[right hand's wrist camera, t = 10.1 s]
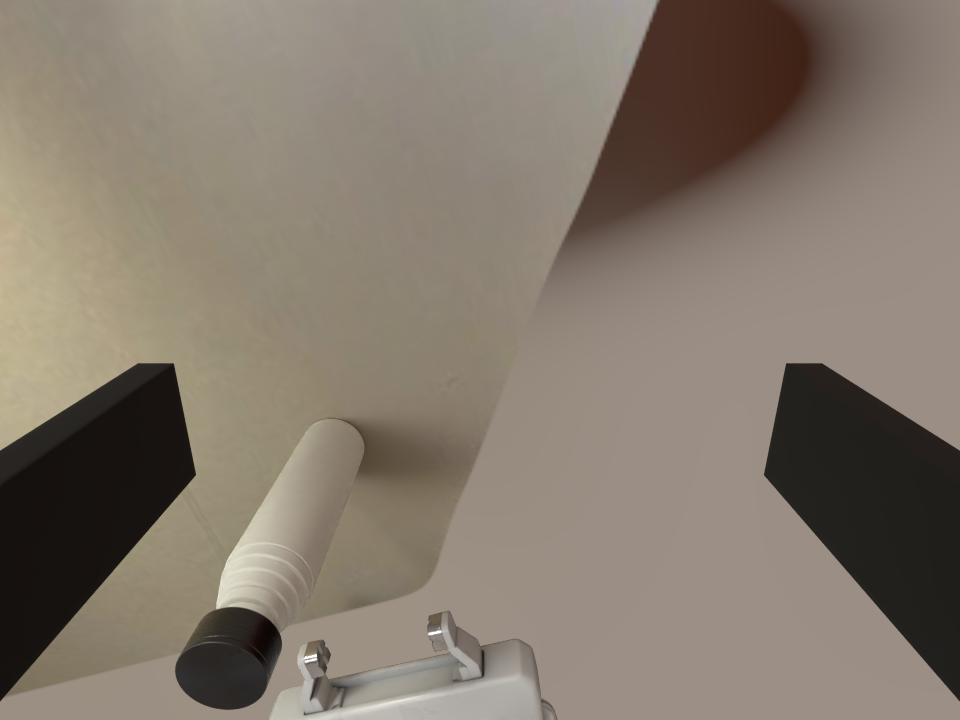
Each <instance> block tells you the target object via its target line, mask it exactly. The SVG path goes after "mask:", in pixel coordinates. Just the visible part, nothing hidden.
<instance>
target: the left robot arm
mask: <svg viewBox="0 0 960 720" xmlns="http://www.w3.org/2000/svg"><path fill="white" fill-rule="evenodd" d="M428 620H429V624H428V635H429V638H430V640H431V641H432V646H433V648H434V650H435V651H440V650H445V649H446V650H447V651H448V652H450V653H448V654H443V655H439V656H434V657H430V658H425V659H420V660H416V661H411V662H406V663H402V664H397V665H393V666H388V667H384V668H379V669H374V670H370V671H366V672H361V673H356V674H352V675H347V676H342V677H338V678H333V679H329V680H328V678H327V676H326V674H325V673H326V670H327V666H326V665H327V663H328V662H329V659H330V656H331V654H330V652H329V650H328V648H327V647H325V642H324V640H318V641H313V642H309V643H304V644H302V645H301V648H300V651H299V654H298V657H297V663H298V667H299V669H300V671H301V673H302V674H303V676H304V682H303V685H301V686H296V687H291V688H287V689H284V690H282V691H281V692H280V694H279V696H278V697H277V699H276V701H275V704H274V706H273V708H272V711H271V713H270V716H269V719H268V720H557V717H556V714H555V711H554V709H553V707H552V706H551V704H550V703H549V702H547V701H546V700H544V699H541V692H540V685H539V677H538V671H537V666H536V661H535V657H534V653H533V650H532V648H531V646H529V645H528V644H526V643H525V642H523V641H521V640H519V639H512V640H507V641H503V642H498V643H494V644H489V645H485V646H480V645H479V642H478V640H477V639H476V638H474V637H473V636H471V635H470V634H468V633H467V632H465V631H464V630H462V629H461V628H459V627H456V625H455V623H454V620H453V618H452V615H451V612H450V611H446V612H442V613H438V614H434V615H430V616H429V619H428Z"/></svg>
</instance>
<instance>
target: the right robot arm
mask: <svg viewBox="0 0 960 720" xmlns="http://www.w3.org/2000/svg"><path fill="white" fill-rule="evenodd" d="M195 476H196V472H195V467H194V462H193V457H192V452H191V447H190V442H189V437H188V432H187V427H186V422H185V417H184V412H183V407H182V402H181V397H180V392H179V387H178V382H177V377H176V372H175V367H174V363H138V364H136V365H135V366H133V367H132V368H130V369H128V370H127V371H125V372H124V373H122V374H121V375H119V376H117V377H116V378H114V379H113V380H111V381H110V382H108V383H106V384H105V385H103V386H102V387H100V388H98V389H97V390H95V391H94V392H92V393H91V394H89V395H87V396H86V397H84V398H83V399H81V400H80V401H78V402H76V403H75V404H73V405H72V406H70V407H68V408H67V409H65V410H64V411H62V412H61V413H59V414H57V415H56V416H54V417H53V418H51V419H50V420H48V421H46V422H45V423H43V424H42V425H40V426H38V427H37V428H35V429H34V430H32V431H31V432H29V433H27V434H26V435H24V436H23V437H21V438H20V439H18V440H16V441H15V442H13V443H12V444H10V445H8V446H7V447H5V448H4V449H2V450H1V451H0V701H1V700H2V699H3V697H4V696H5V695H6V694H7V693H8V692H9V691H10V689H11V688H12V687H13V686H14V685H15V684H16V682H17V681H18V680H19V679H20V678H21V677H22V676H23V674H24V673H25V672H26V671H27V670H28V669H29V667H30V666H31V665H32V664H33V663H34V662H35V661H36V659H37V658H38V657H39V656H40V655H41V654H42V652H43V651H44V650H45V649H46V648H47V647H48V645H49V644H50V643H51V642H52V641H53V640H54V639H55V637H56V636H57V635H58V634H59V633H60V632H61V630H62V629H63V628H64V627H65V626H66V625H67V624H68V622H69V621H70V620H71V619H72V618H73V617H74V615H75V614H76V613H77V612H78V611H79V610H80V609H81V607H82V606H83V605H84V604H85V603H86V602H87V600H88V599H89V598H90V597H91V596H92V595H93V593H94V592H95V591H96V590H97V589H98V588H99V587H100V585H101V584H102V583H103V582H104V581H105V580H106V578H107V577H108V576H109V575H110V574H111V573H112V572H113V570H114V569H115V568H116V567H117V566H118V565H119V563H120V562H121V561H122V560H123V559H124V558H125V557H126V555H127V554H128V553H129V552H130V551H131V550H132V548H133V547H134V546H135V545H136V544H137V543H138V541H139V540H140V539H141V538H142V537H143V536H144V535H145V533H146V532H147V531H148V530H149V529H150V528H151V526H152V525H153V524H154V523H155V522H156V521H157V520H158V518H159V517H160V516H161V515H162V514H163V513H164V511H165V510H166V509H167V508H168V507H169V506H170V505H171V503H172V502H173V501H174V500H175V499H176V498H177V496H178V495H179V494H180V493H181V492H182V491H183V489H184V488H185V487H186V486H187V485H188V484H189V483H190V481H191V480H192V479H193V478H194V477H195ZM764 476H765V477H766V478H767V479H768V480H769V481H770V483H771V484H772V485H773V486H774V487H775V488H776V489H777V491H778V492H779V493H780V494H781V495H782V496H783V498H784V499H785V500H786V501H787V502H788V503H789V504H790V506H791V507H792V508H793V509H794V510H795V511H796V513H797V514H798V515H799V516H800V517H801V518H802V520H803V521H804V522H805V523H806V524H807V525H808V526H809V528H810V529H811V530H812V531H813V532H814V533H815V535H816V536H817V537H818V538H819V539H820V540H821V541H822V543H823V544H824V545H825V546H826V547H827V548H828V550H829V551H830V552H831V553H832V554H833V555H834V557H835V558H836V559H837V560H838V561H839V562H840V563H841V565H842V566H843V567H844V568H845V569H846V570H847V572H848V573H849V574H850V575H851V576H852V577H853V578H854V580H855V581H856V582H857V583H858V584H859V585H860V587H861V588H862V589H863V590H864V591H865V592H866V593H867V595H868V596H869V597H870V598H871V599H872V600H873V602H874V603H875V604H876V605H877V606H878V607H879V609H880V610H881V611H882V612H883V613H884V614H885V615H886V617H887V618H888V619H889V620H890V621H891V622H892V624H893V625H894V626H895V627H896V628H897V629H898V630H899V632H900V633H901V634H902V635H903V636H904V637H905V639H906V640H907V641H908V642H909V643H910V644H911V645H912V647H913V648H914V649H915V650H916V651H917V652H918V654H919V655H920V656H921V657H922V658H923V659H924V661H925V662H926V663H927V664H928V665H929V666H930V667H931V669H932V670H933V671H934V672H935V673H936V674H937V676H938V677H939V678H940V679H941V680H942V681H943V682H944V684H945V685H946V686H947V687H948V688H949V689H950V691H951V692H952V693H953V694H954V695H955V696H956V697H957V699H958V700H959V701H960V451H959V450H958V449H956V448H955V447H953V446H951V445H950V444H948V443H947V442H945V441H944V440H942V439H940V438H939V437H937V436H936V435H934V434H933V433H931V432H929V431H928V430H926V429H925V428H923V427H921V426H920V425H918V424H917V423H915V422H914V421H912V420H910V419H909V418H907V417H906V416H904V415H903V414H901V413H899V412H898V411H896V410H895V409H893V408H891V407H890V406H888V405H887V404H885V403H884V402H882V401H880V400H879V399H877V398H876V397H874V396H873V395H871V394H869V393H868V392H866V391H865V390H863V389H862V388H860V387H858V386H857V385H855V384H853V383H852V382H850V381H849V380H847V379H846V378H844V377H843V376H841V375H839V374H838V373H836V372H835V371H833V370H832V369H830V368H828V367H827V366H825V365H824V364H822V363H787V364H786V367H785V372H784V377H783V382H782V387H781V392H780V397H779V402H778V407H777V412H776V417H775V422H774V427H773V432H772V437H771V442H770V447H769V452H768V457H767V462H766V467H765V473H764Z"/></svg>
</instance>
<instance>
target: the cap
mask: <svg viewBox="0 0 960 720" xmlns="http://www.w3.org/2000/svg"><path fill="white" fill-rule="evenodd" d="M281 648H282V640H281V636H280V633H279V631H278V629H277V628H276V626H275V625H274V624H273V623H272V622H271V621H270V620H269V619H268V618H266V617H265V616H263V615H262V614H260V613H258V612H256V611H253V610H251V609H247V608H242V607H225V608H220V609H217V610H214V611H212V612H210V613H209V614H207V615H206V616H205V617H204V618H203V619H202V620H201V621H200V623H199V624H198V626H197V628H196V629H195V631H194V633H193V634H192V636H191V638H190V640H189V641H188V643H187V645H186V646H185V648H184V650H183V651H182V653H181V655H180V657H179V658H178V660H177V663H176V667H175V673H176V678H177V681H178V683H179V685H180V687H181V688H182V689H183V691H184V692H185V693H186V694H187V695H188V696H190V697H191V698H192V699H194V700H195V701H197V702H199V703H201V704H203V705H206V706H209V707H212V708H216V709H224V710H233V709H240V708H244V707H247V706H249V705H251V704H253V703H255V702H256V701H257V700H259V699H260V698H261V697H262V695H263V694H264V692H265V690H266V688H267V685H268V683H269V680H270V678H271V675H272V673H273V670H274V668H275V665H276V663H277V660H278V657H279V655H280V652H281Z"/></svg>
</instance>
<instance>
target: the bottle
mask: <svg viewBox="0 0 960 720" xmlns="http://www.w3.org/2000/svg"><path fill="white" fill-rule="evenodd" d="M363 455H364V442H363V439H362V437H361V435H360V433H359V432H358V431H357V430H356V429H355V428H354V427H353V426H352V425H350V424H349V423H347V422H345V421H342V420H338V419H324V420H320V421H318V422H316V423H314V424H312V425H311V426H310V427H309V428H308V429H307V431H306V432H305V434H304V435H303V437H302V439H301V440H300V442H299V444H298V445H297V447H296V449H295V450H294V452H293V453H292V455H291V457H290V458H289V460H288V462H287V463H286V465H285V467H284V468H283V470H282V471H281V473H280V475H279V476H278V478H277V480H276V481H275V483H274V485H273V486H272V488H271V490H270V491H269V493H268V494H267V496H266V498H265V499H264V501H263V503H262V504H261V506H260V508H259V509H258V511H257V512H256V514H255V516H254V517H253V519H252V521H251V522H250V524H249V526H248V527H247V529H246V531H245V532H244V534H243V535H242V537H241V539H240V540H239V542H238V544H237V545H236V547H235V549H234V550H233V552H232V553H231V555H230V557H229V558H228V560H227V562H226V565H225V569H224V571H223V573H222V575H221V579H220V587H219V593H218V599H217V603H216V610H217V609H220V608H225V607H242V608H247V609H251V610H253V611H256V612H258V613H260V614H262V615H263V616H265V617H266V618H268V619H269V620H270V621H271V622H272V623H273V624H274V625H275V626H276V628H277V629H278V631H279V633H281V632H282V631H283V630H284V629H285V628H286V627H287V625H288V624H289V623H290V622H291V621H292V620H293V619H294V618H295V616H296V615H297V614H298V613H299V612H300V611H301V610H302V608H303V607H304V605H305V604H306V601H307V600H308V599H309V597H310V595H311V593H312V591H313V588H314V586H315V583H316V580H317V578H318V575H319V572H320V570H321V567H322V564H323V562H324V559H325V557H326V554H327V551H328V549H329V546H330V543H331V541H332V538H333V535H334V533H335V530H336V527H337V525H338V522H339V519H340V517H341V514H342V511H343V509H344V506H345V503H346V501H347V498H348V495H349V493H350V490H351V487H352V485H353V482H354V479H355V477H356V474H357V471H358V469H359V466H360V463H361V461H362V458H363Z"/></svg>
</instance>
